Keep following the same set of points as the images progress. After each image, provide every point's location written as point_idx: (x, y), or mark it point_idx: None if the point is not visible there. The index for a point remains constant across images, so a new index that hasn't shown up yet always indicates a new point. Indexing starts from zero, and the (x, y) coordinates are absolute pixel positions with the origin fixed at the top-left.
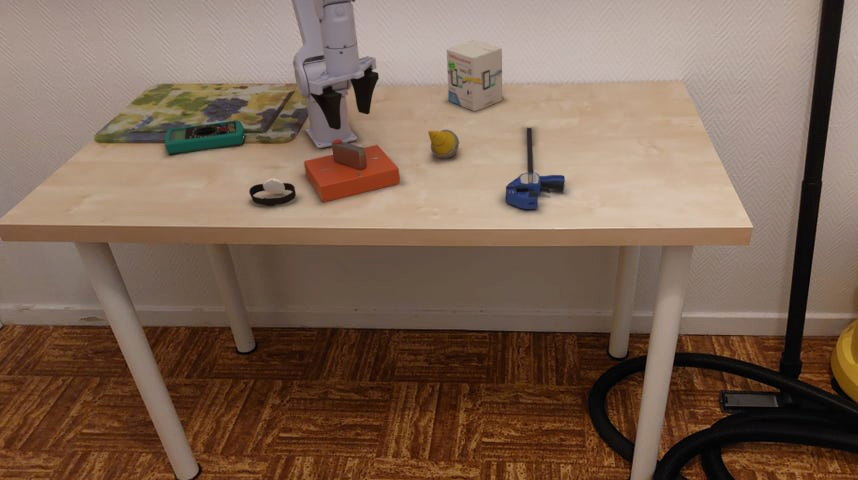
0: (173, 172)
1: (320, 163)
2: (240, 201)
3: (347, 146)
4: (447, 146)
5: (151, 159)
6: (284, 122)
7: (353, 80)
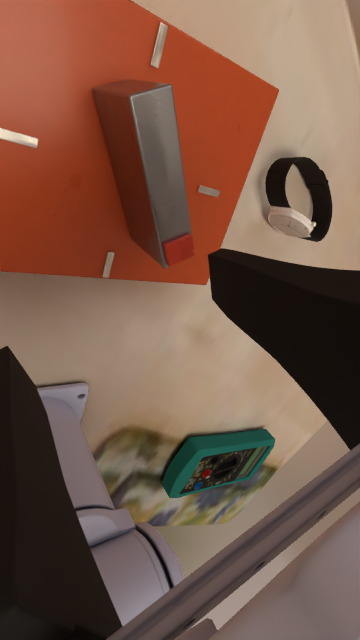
0: (289, 380)
1: None
2: None
3: (174, 182)
4: None
5: (278, 421)
6: None
7: (95, 576)
